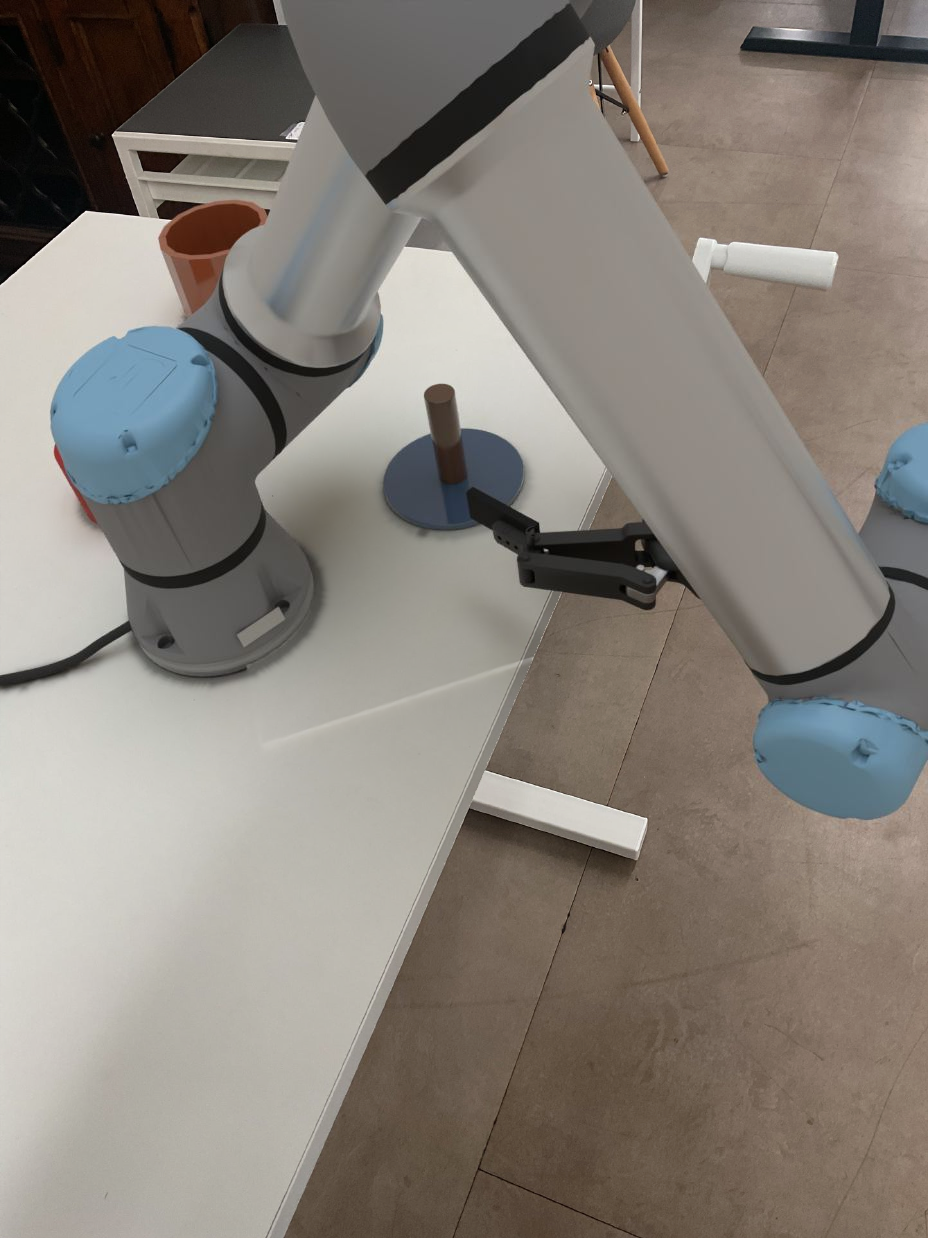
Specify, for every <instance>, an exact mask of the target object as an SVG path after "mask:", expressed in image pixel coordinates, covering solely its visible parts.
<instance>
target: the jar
mask: <svg viewBox="0 0 928 1238" xmlns="http://www.w3.org/2000/svg"><path fill="white" fill-rule="evenodd" d="M267 217H268V215H267V212H266V209H264V208H263V207H261V206H259V205H258V204H256V203H254V202H253V201H247V200H240V199H228V200H215V201H210V202H207V203H204V204H199V205H196V206H193V207H191V208H189V209H187V210H185V211H183V212H181V213H179V214H177V215H176V216H175V217H173V218H172V219H171V220H170V221H169V222H168V223H166V224H165V225H164V226H163V228H162V230H161V232H160V233H159V236H158V237H157V239H158V244H159V249H160V252H161V254H162V258H163V259H164V262H165V265H166V267H167V270H168V273H169V276H170V278H171V281H172V284H173V286H174V289H175V291H176V294H177V297H178V299H179V301H180V304H181V307H182V309H183V313H184V315H185V317H186V319H187V318H189V317H190V316H191V315H192V314H193V313H195V312H196V311H197V310H198V309H200V308H201V307H202V306H203V305H204V304H205V303H206V302H207V301H208V300H209V298H210V297H211V296H212V294H213V293H214V291H215V288H216V285H217V283H218V280H219V277H220V274H221V271H222V269H223V267H224V264H225V260H226V257H227V255H228V254H229V252H230V250H231V248H232V247H233V245H234V244H235V243H236V241H237V240H238V239H239V238H240V237H241V236H243V235H244V234H245V233H247V232H248V231H250V230H252V229H254V228H256V227H258V226H262V225H265V222H266V220H267Z"/></svg>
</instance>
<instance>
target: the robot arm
mask: <svg viewBox="0 0 928 1238" xmlns="http://www.w3.org/2000/svg"><path fill="white" fill-rule="evenodd" d="M593 1H594V0H279V3H280V7H281V9H282V14H283V17H284V21H285V24H286V27H287V29H288V33H289V35H290V38H291V40H292V43H293V45H294V49H295V51H296V54H297V57H298V58H299V62H300V64H301V67H302V69H303V71H304V74H305V76H306V78H307V80H308V82H309V85H310V86H311V88H312V91H313V92H314V94H315V95H314V98H313V100H312V103H311V105H310V108H309V111H308V113H307V115H306V118H305V121H304V123H303V126H302V129H301V131H300V134H299V136H298V138H297V141H296V144H295V146H294V148H293V151H292V154H291V156H290V158H289V161H288V163H287V166H286V168H285V172H284V173H283V176H282V179H281V182H280V183H279V187H278V190H277V192H276V195H275V197H274V199H273V202H272V205H271V207H270V209H269V212H268V215H267V220H266V222H265V225H262V226H258V227H256V228H254V229H252V230H250V231H248V232H247V233H245V234H244V235H243V236H241V237H240V238H239V239H238V240H237V241H236V243H235V244H234V245H233V247H232V248H231V250H230V252H229V254H228V255H227V257H226V260H225V264H224V267H223V269H222V271H221V274H220V277H219V280H218V283H217V285H216V288H215V291H214V293H213V294H212V296H211V297H210V298H209V300H208V301H207V302H206V303H205V304H204V305H203V306H202V307H201V308H200V309H198V310H197V311H196V312H195V313H193V314H192V315H191V316H190V317H189V318H187V317H186V319H185V320H184V321H182V322H181V323H179V325H177V326H176V327H171V326H166V325H165V326H164V325H149V326H142V327H136V328H133V329H129V330H127V332H126V334H125V335H124V336H123V337H121V338H117V337H116V336H115V335H112V336H111V337H108V338H106V339H104V340H102V341H101V342H99V343H97V344H96V345H94V346H93V347H91V348H90V349H89V350H87V351H86V352H85V353H83V355H81V356H80V357H79V358H78V359H76V361H75V362H74V363H73V364H72V365H71V366H70V367H69V369H67V371H66V372H65V374H64V375H63V376H62V378H61V379H60V381H59V383H58V385H57V387H56V389H55V391H54V394H53V396H52V400H51V403H50V407H49V408H50V409H49V416H50V421H49V422H50V426H49V427H50V432H51V436H52V438H53V441H54V445H55V444H56V446H57V448H58V451H59V453H60V455H61V458H62V460H63V463H64V467H65V470H66V472H67V475H68V477H69V478H70V480H71V482H72V483H73V485H74V486H75V487H76V488H77V489H78V490H79V491H80V493H81V495H82V497H83V498H84V500H85V502H86V504H87V505H88V507H89V509H90V511H91V512H92V514H93V516H94V518H95V519H96V521H97V523H98V524H97V523H96V524H97V525H98V527H99V528H100V529H101V531H102V533H103V535H104V537H105V538H106V540H107V542H108V544H109V545H110V547H111V548H112V551H113V552H114V554H115V556H116V557H117V560H118V561H119V563H120V565H121V566H122V568H123V576H124V587H125V588H124V589H125V599H126V611H127V618H128V620H127V621H126V622H124V623H122V624H120V625H119V626H117V627H115V628H113V629H111V630H110V631H108V632H106V633H105V634H103V635H102V636H100V637H99V638H97V639H96V640H94V641H92V642H91V643H90V644H89V645H87V646H86V647H84V648H83V649H82V650H80V651H77V652H76V653H75V654H73V655H70V656H69V657H65V658H63V659H61V660H58V661H55V662H52V663H48V664H46V665H42V666H39V667H34V668H30V669H26V670H20V671H14V672H10V673H9V672H8V673H5V674H4V673H3V674H0V686H5V685H9V684H10V685H11V684H15V683H20V682H26V681H30V680H34V679H35V680H36V679H39V678H42V677H46V676H51V675H53V674H56V673H59V672H62V671H64V670H67V669H70V668H72V667H75V666H77V665H79V664H81V663H83V662H84V661H86V660H88V659H89V658H91V657H92V656H93V655H95V654H96V653H98V652H99V651H101V650H102V649H104V648H105V647H107V646H108V645H110V644H112V643H113V642H115V641H117V640H119V639H120V638H122V637H123V636H125V635H126V634H128V633H130V632H132V634H133V636H134V638H135V639H136V641H137V643H138V645H139V646H140V648H141V650H142V651H143V653H144V654H145V655H146V656H147V657H148V658H149V659H150V660H151V661H152V662H153V663H155V664H156V665H158V666H159V667H161V668H163V669H165V670H167V671H170V672H173V673H175V674H180V675H183V676H189V677H216V676H223V675H229V674H233V673H236V672H239V671H242V670H245V669H247V668H248V667H247V666H248V665H250V664H253V663H255V662H258V661H259V660H261V659H263V658H265V657H267V656H269V655H270V654H271V653H273V652H275V651H276V650H277V649H279V648H280V647H281V646H282V645H284V644H285V643H286V642H287V641H288V640H289V639H290V638H291V637H292V636H293V635H294V634H295V632H297V630H298V629H299V628H300V626H301V625H302V623H303V622H304V620H305V618H306V617H307V615H308V613H309V611H310V608H311V606H312V602H313V597H314V593H315V592H314V590H315V583H314V577H313V571H312V569H311V566H310V563H309V561H308V558H307V555H306V554H305V552H304V551H303V550H302V548H301V546H300V545H299V544H298V543H297V541H296V540H295V539H294V537H292V536H291V535H290V534H289V533H288V532H287V531H286V530H285V529H284V528H283V527H282V526H281V524H279V522H278V521H277V520H276V519H275V518H274V517H273V516H272V515H271V514H270V513H269V512H268V511H267V510H266V509H265V506H264V504H263V501H262V499H261V496H260V493H259V490H258V487H257V484H256V479H257V477H258V476H259V475H260V474H261V473H262V472H263V471H264V470H265V469H266V468H267V467H268V466H269V465H270V464H271V462H273V460H275V459H276V458H277V457H278V456H279V455H280V454H281V453H282V452H283V451H284V450H285V448H287V447H288V446H289V445H290V444H291V443H292V442H293V441H294V439H296V438H297V437H298V436H299V435H300V434H301V433H302V432H303V431H304V430H305V429H306V428H307V427H309V426H310V424H312V423H313V421H315V420H316V418H318V417H319V416H320V415H321V414H322V413H323V412H324V411H325V410H326V409H327V408H328V407H329V406H330V405H331V404H332V403H333V402H334V401H335V400H337V398H339V396H341V394H342V393H344V392H345V391H346V390H347V389H349V388H351V387H352V386H353V385H354V384H355V383H357V382H358V381H359V380H360V379H361V377H362V376H363V375H364V374H365V373H366V370H367V369H368V368H369V366H370V365H371V363H372V361H373V360H374V359H375V357H376V355H377V353H378V352H379V349H380V347H381V343H382V339H383V335H384V315H383V314H382V305H381V299H380V294H379V290H380V288H381V286H383V285H382V284H383V283H384V281H385V280H386V278H387V277H388V275H389V273H390V272H391V270H392V269H393V266H394V265H395V263H396V262H397V260H398V258H399V257H400V255H401V253H402V252H403V250H404V248H405V247H406V245H407V243H408V242H409V240H410V239H411V237H412V235H413V234H414V231H416V229H417V227H418V225H419V224H420V222H421V220H422V219H423V220H425V221H427V222H430V224H431V225H432V227H433V228H434V230H435V231H436V233H437V234H438V235H439V236H440V238H441V239H442V241H444V243H445V245H446V246H447V247H448V249H449V250H450V252H451V253H452V254H453V256H454V258H455V259H456V260H457V261H458V263H459V264H460V266H461V267H462V268H463V270H464V271H465V272H466V274H467V275H468V277H469V278H470V280H471V281H472V282H473V284H474V285H475V286H476V288H477V289H478V290H479V292H480V293H481V295H482V296H483V298H484V299H485V301H486V302H487V303H488V305H489V306H490V308H491V309H492V310H493V312H494V313H495V314H496V316H497V317H498V319H499V320H500V321H501V323H502V324H503V326H504V327H505V328H506V330H507V331H508V333H509V334H510V335H511V337H512V338H513V340H514V341H515V343H516V344H517V345H518V346H519V348H520V349H521V352H523V353H524V355H525V356H526V357H527V359H528V360H529V362H530V363H531V365H532V366H533V367H534V369H535V371H536V372H537V373H538V374H539V376H540V378H542V381H544V383H545V384H546V385H547V387H548V388H549V390H550V391H551V392H552V393H553V395H554V397H555V398H556V399H557V401H558V402H559V404H560V405H561V407H562V408H563V409H564V411H565V412H566V414H567V415H568V417H570V418H571V420H572V422H573V424H574V425H575V426H576V428H577V429H578V430H579V432H580V433H581V434H582V436H583V437H584V439H585V440H586V441H587V443H588V444H589V446H590V448H592V450H593V451H594V453H595V454H596V455H597V457H598V459H600V461H601V462H602V464H603V465H604V466H605V468H606V469H607V470H608V472H609V473H610V475H611V476H612V478H613V479H614V481H615V482H616V483H617V485H618V486H619V488H620V489H621V491H623V493H624V494H625V496H626V497H627V498H628V500H629V501H630V503H631V504H632V506H633V507H634V508H635V510H636V511H637V513H638V514H639V515H640V517H641V518H642V519H641V520H642V521H638V522H637V521H636V522H635V521H634V522H627V523H625V524H624V525H623V526H622V527H620V528H619V527H618V528H603V529H602V528H601V529H582V530H563V531H562V530H561V531H546V532H545V531H543V532H542V531H541V529H540V522H539V521H537V520H536V519H533V518H531V517H530V516H528V515H526V514H524V513H522V512H521V511H519V510H517V509H515V508H513V507H511V506H508V505H506V504H504V503H502V502H500V501H498V500H497V499H495V498H493V497H491V496H489V495H487V494H486V493H484V492H482V491H480V490H478V489H476V488H475V487H472V488H470V489H469V490H468V491H467V492H466V495H467V501H468V507H469V513H470V518H471V519H473V520H475V521H477V522H478V523H480V524H479V525H482V526H484V527H485V528H487V529H489V530H491V531H492V535H493V539H494V541H495V542H496V543H497V544H498V545H500V546H502V547H504V548H506V549H507V550H509V551H511V552H512V553H514V554H516V555H517V556H516V564H517V572H518V573H517V574H518V582H519V584H520V586H522V587H524V588H530V589H537V590H544V591H551V592H558V593H568V594H574V595H581V596H587V597H588V596H589V597H595V598H603V599H610V600H617V601H622V602H625V603H627V604H629V605H632V606H633V607H635V608H638V609H641V610H643V611H651V610H654V608H656V605H657V595H658V594H659V592H660V591H661V589H662V588H663V587H664V586H665V584H666V583H668V582H669V583H677V584H680V585H683V586H684V587H685V588H686V589H688V590H689V591H690V593H692V595H694V597H695V598H697V599H698V600H700V601H701V602H702V604H704V606H705V607H706V609H707V610H708V611H709V613H710V614H711V616H712V617H713V619H714V620H715V621H716V623H717V624H718V625H719V627H720V629H721V630H722V631H723V632H724V634H725V635H726V637H727V639H729V641H730V643H731V644H732V645H733V646H734V648H735V649H736V651H737V652H738V653H739V655H740V656H741V658H742V660H743V661H744V664H745V665H746V666H747V668H748V670H750V672H751V673H752V676H753V677H754V678H755V680H756V681H757V682H758V684H759V685H760V687H761V688H762V690H763V691H764V692H765V694H766V695H767V704H766V705H765V706H763V707H762V708H761V709H760V711H759V713H758V716H757V719H758V721H757V724H756V726H755V729H754V732H753V735H752V749H753V752H754V755H753V759H754V761H755V763H756V766H757V768H758V769H759V770H760V773H761V774H762V775H763V776H764V777H765V779H766V780H767V781H768V782H769V783H770V784H771V785H772V786H773V787H774V788H776V790H778V791H779V792H781V793H782V794H783V795H784V796H785V797H787V798H788V799H790V800H792V801H794V802H795V803H796V804H798V805H801V806H802V807H804V808H807V809H809V810H810V811H813V812H817V813H818V814H822V815H825V816H828V817H832V818H835V819H840V820H841V819H842V820H846V819H857V820H860V821H861V820H862V821H871V820H878V819H881V818H884V817H888V816H889V815H891V814H893V813H895V812H897V811H898V810H900V809H901V807H903V806H904V805H905V804H906V802H907V800H909V798H910V796H911V794H912V792H913V790H914V788H915V786H916V784H917V782H918V780H919V778H920V776H921V774H922V772H923V769H924V768H925V766H926V764H927V762H928V421H925V422H923V423H919V424H917V425H914V426H912V427H909V428H908V429H907V430H905V431H904V432H903V433H901V434H900V435H899V436H898V437H897V438H896V439H894V441H893V442H892V444H891V445H890V446H889V449H888V452H887V454H886V457H885V460H884V463H883V467H882V469H881V471H880V472H879V474H878V475H877V477H876V478H875V481H874V484H873V487H874V491H875V492H874V497H873V500H872V503H871V505H870V509H869V510H868V513H867V516H866V518H865V521H864V522H863V524H862V525H861V528H860V530H859V531H857V529H856V527H855V526H854V524H853V522H852V521H851V519H850V518H849V516H848V515H847V513H846V511H845V509H844V508H843V507H842V505H841V503H840V502H839V500H838V498H837V497H836V495H835V493H834V492H833V490H832V488H831V487H830V485H829V483H828V482H827V480H826V478H825V477H824V475H823V474H822V472H821V471H820V470H821V469H819V467H818V466H817V464H816V462H815V460H814V459H813V457H812V456H811V454H810V452H809V450H808V449H807V447H806V446H805V444H804V442H803V441H802V439H801V437H800V436H799V434H798V432H797V431H796V429H795V427H794V426H793V424H792V423H791V421H790V419H789V417H788V416H787V414H786V413H785V411H784V410H783V408H782V406H781V404H780V403H779V401H778V400H777V398H776V396H775V395H774V394H773V392H772V389H771V388H770V387H769V385H768V383H767V382H766V380H765V378H764V376H763V375H762V374H761V372H760V370H759V368H758V367H757V365H756V363H755V362H754V360H753V359H752V357H751V355H750V354H749V352H748V351H747V349H746V347H745V346H744V344H743V342H742V341H741V339H740V337H739V336H738V334H737V332H736V331H735V328H733V326H732V324H731V323H730V321H729V319H728V318H727V316H726V314H725V313H724V311H723V309H722V308H721V306H720V304H719V303H718V301H717V299H716V298H715V296H714V294H713V293H712V291H711V290H710V288H709V286H708V285H707V283H706V281H705V280H704V279H703V277H702V275H701V273H700V272H699V270H698V268H697V266H696V265H695V264H694V262H693V260H692V259H691V257H690V255H689V254H688V252H687V251H686V249H685V247H684V245H683V244H682V242H681V240H680V239H679V237H678V236H677V234H676V233H675V231H674V229H673V227H672V225H671V224H670V223H669V221H668V219H667V218H666V216H665V214H664V213H663V211H662V209H661V208H660V206H659V205H658V203H657V201H656V199H655V198H654V196H653V194H652V193H651V191H650V189H649V188H648V186H647V185H646V184H645V181H644V180H643V178H642V177H641V175H640V173H639V172H638V170H637V168H636V167H635V165H634V164H633V162H632V160H631V159H630V156H629V155H628V154H627V152H626V150H625V149H624V146H622V144H621V142H620V140H619V139H618V137H617V136H616V134H615V133H614V130H613V128H612V127H611V126H610V124H609V122H608V121H607V118H606V117H605V116H604V114H603V112H602V111H601V109H600V107H599V106H598V104H597V102H596V101H595V99H594V97H593V96H592V94H591V87H590V84H591V83H590V82H591V81H590V80H591V73H592V67H593V60H594V54H595V47H596V44H595V42H594V41H593V39H592V37H591V35H590V33H589V31H588V30H587V28H586V27H585V25H584V23H583V22H582V20H581V19H582V18H583V16H584V15H585V13H586V12H587V10H588V9H589V7H590V5H591V4H592V3H593ZM637 541H640V544H641V547H642V549H643V550H636V542H637ZM646 568H647V569H646Z"/></svg>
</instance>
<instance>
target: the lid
mask: <svg viewBox="0 0 928 1238" xmlns="http://www.w3.org/2000/svg"><path fill="white" fill-rule="evenodd" d="M423 400H424V405H425V406H424V407H425V411H426V416H427V423H428V426H429V432H430V433H428V434H425V435H423V436H421V437H418V438H416V439H414V440H413V441H411V442H409V443H408V444H406V445H405V446H404V447H402V448H401V449H400V450H399V451H398V452H396V454H395V455H394V456H393V457H392V458H391V460H390V461H389V463H388V465H387V467H386V469H385V471H384V475H383V482H382V485H383V492H384V496H385V499H386V502H387V504H388V506H389V507H390V508H391V510H392V511H393V512H394V513H395V514H396V515H397V516H398V517H400V518H401V519H402V520H404V521H406V522H408V523H409V524H412V525H415V526H417V527H421V528H425V529H428V530H439V531H449V530H450V531H452V530H460V529H466V528H471V527H475V526H477V525H481V524H480V523H478V522H477V521H475V520H473V519H471V518H470V513H469V507H468V501H467V495H466V492H467V491H468V490H469V489H470V488H472V487H475V488H476V489H478V490H480V491H482V492H484V493H486V494H487V495H489V496H491V497H493V498H495V499H497V500H498V501H500V502H502V503H504V504H506V505H508V506H509V507H511V506H512V504H513V503H514V501H515V500H516V499H517V497H518V496H519V494H520V492H521V490H522V489H523V485H524V482H525V481H524V479H525V466H524V463H523V459H522V456H521V454H520V452H519V451H518V449H516V447H515V446H514V445H513V444H512V443H511V442H509V441H508V440H507V439H505V438H504V437H502V436H500V435H498V434H496V433H493V432H490V431H488V430H487V431H486V430H482V429H477V428H470V427H469V428H466V427H465V428H463V427H462V426H461V422H460V416H459V415H460V414H459V410H458V409H459V408H458V403H457V395H456V390H455V389H454V387H453V386H452V385H450V384H448V383H436V384H435V383H434V384H433V385H430V386H429V387H427V388H426V389H425V390H424V392H423Z"/></svg>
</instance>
